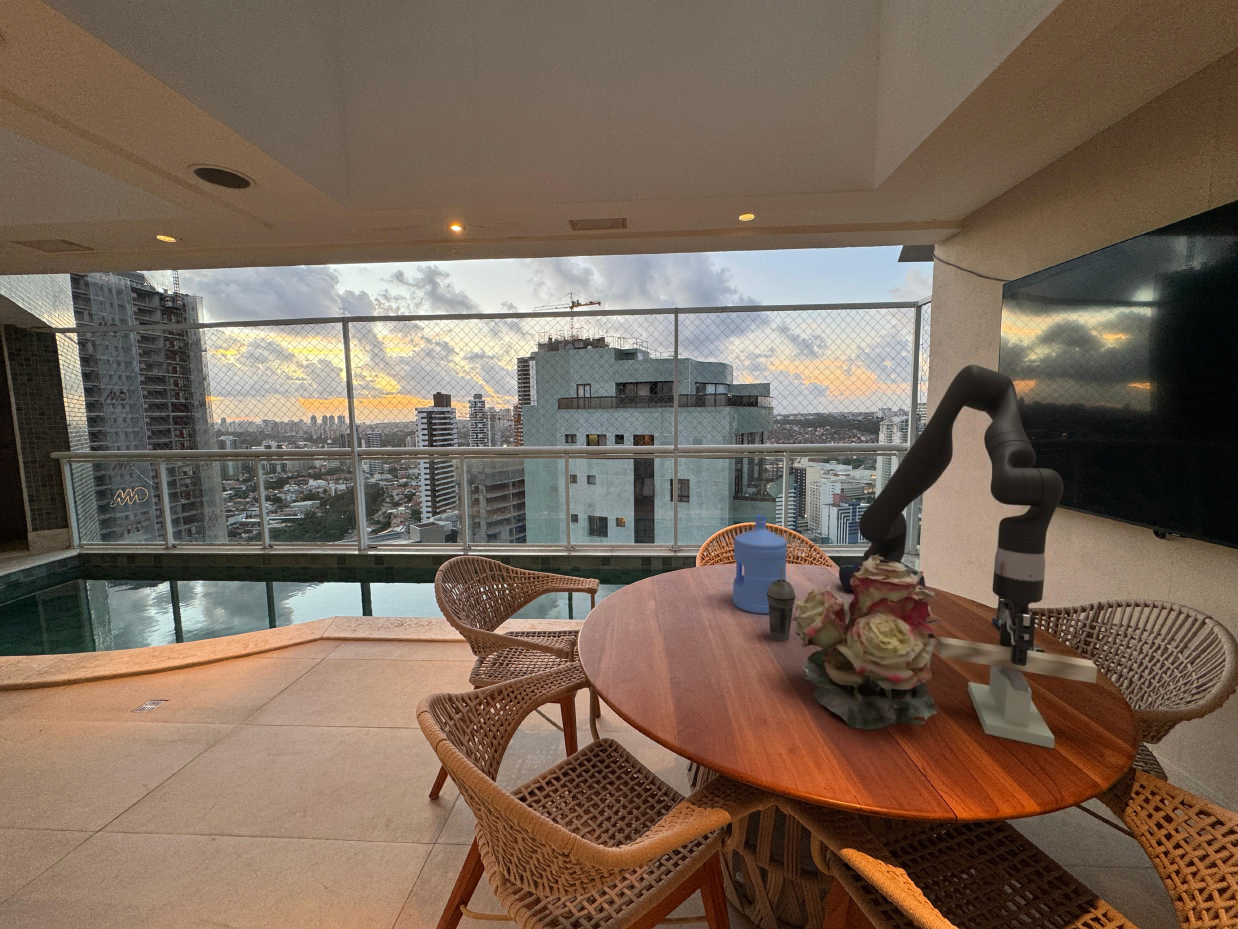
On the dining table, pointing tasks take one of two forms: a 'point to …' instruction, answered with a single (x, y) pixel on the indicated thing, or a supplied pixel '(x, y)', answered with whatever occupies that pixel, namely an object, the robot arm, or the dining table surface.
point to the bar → (1034, 664)
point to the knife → (1036, 649)
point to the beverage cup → (780, 608)
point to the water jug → (757, 566)
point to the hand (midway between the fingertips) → (1011, 654)
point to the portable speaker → (854, 567)
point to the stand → (1009, 708)
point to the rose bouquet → (871, 646)
